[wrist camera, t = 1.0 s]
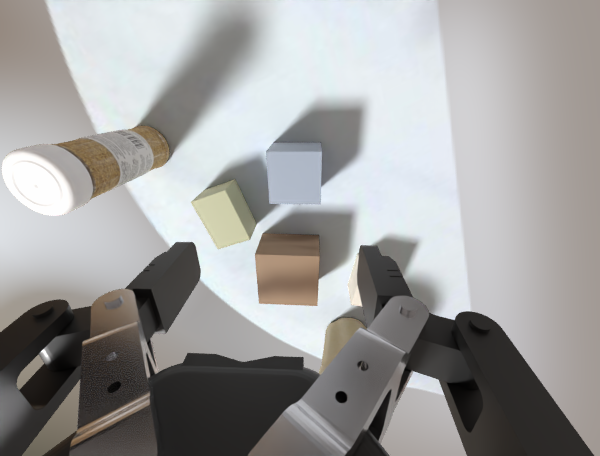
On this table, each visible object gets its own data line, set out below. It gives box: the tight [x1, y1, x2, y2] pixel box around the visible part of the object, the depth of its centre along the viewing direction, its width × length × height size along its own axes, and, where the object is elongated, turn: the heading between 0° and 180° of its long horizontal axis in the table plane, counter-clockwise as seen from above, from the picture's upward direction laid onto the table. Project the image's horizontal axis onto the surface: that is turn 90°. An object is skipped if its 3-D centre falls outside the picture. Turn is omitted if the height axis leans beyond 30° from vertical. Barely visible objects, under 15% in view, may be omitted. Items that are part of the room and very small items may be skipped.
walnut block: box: [255, 233, 320, 306], centre depth 33 cm, size 7×7×5 cm
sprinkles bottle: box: [2, 126, 170, 216], centre depth 23 cm, size 5×5×13 cm
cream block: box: [348, 254, 362, 307], centre depth 33 cm, size 5×4×4 cm
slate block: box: [266, 142, 322, 204], centre depth 27 cm, size 5×5×5 cm
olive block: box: [191, 179, 256, 249], centre depth 30 cm, size 6×4×4 cm, turn 20°
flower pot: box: [319, 318, 367, 374], centre depth 36 cm, size 9×9×9 cm
